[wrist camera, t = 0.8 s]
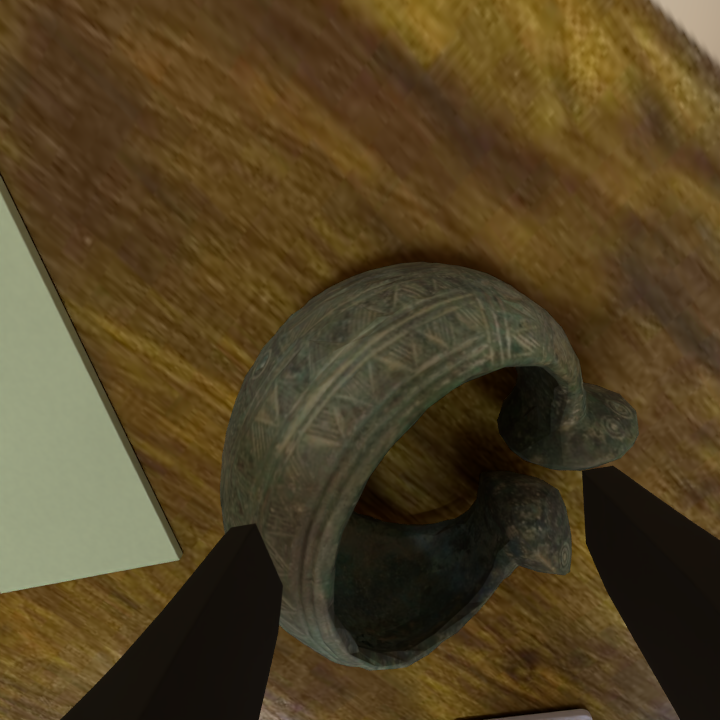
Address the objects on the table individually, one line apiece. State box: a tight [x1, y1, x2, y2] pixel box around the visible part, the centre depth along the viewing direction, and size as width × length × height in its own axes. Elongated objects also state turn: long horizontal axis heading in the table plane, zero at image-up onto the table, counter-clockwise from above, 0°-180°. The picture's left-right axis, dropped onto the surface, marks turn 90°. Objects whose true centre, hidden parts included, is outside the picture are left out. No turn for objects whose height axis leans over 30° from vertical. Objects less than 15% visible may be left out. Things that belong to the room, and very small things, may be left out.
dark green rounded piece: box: [220, 262, 639, 670], centre depth 16 cm, size 15×15×10 cm
